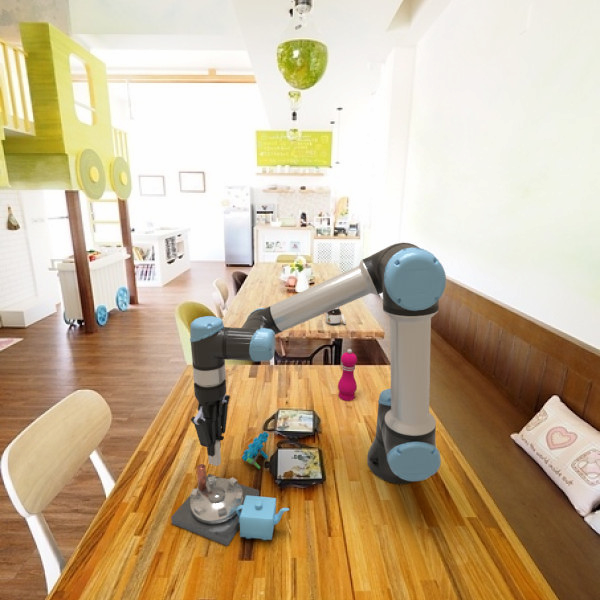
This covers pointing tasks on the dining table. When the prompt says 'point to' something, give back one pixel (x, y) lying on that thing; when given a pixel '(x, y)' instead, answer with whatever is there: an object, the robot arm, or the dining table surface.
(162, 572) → the dining table surface
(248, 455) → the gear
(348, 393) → the pepper mill
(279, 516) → the teapot
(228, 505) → the grey rounded piece
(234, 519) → the base plate
